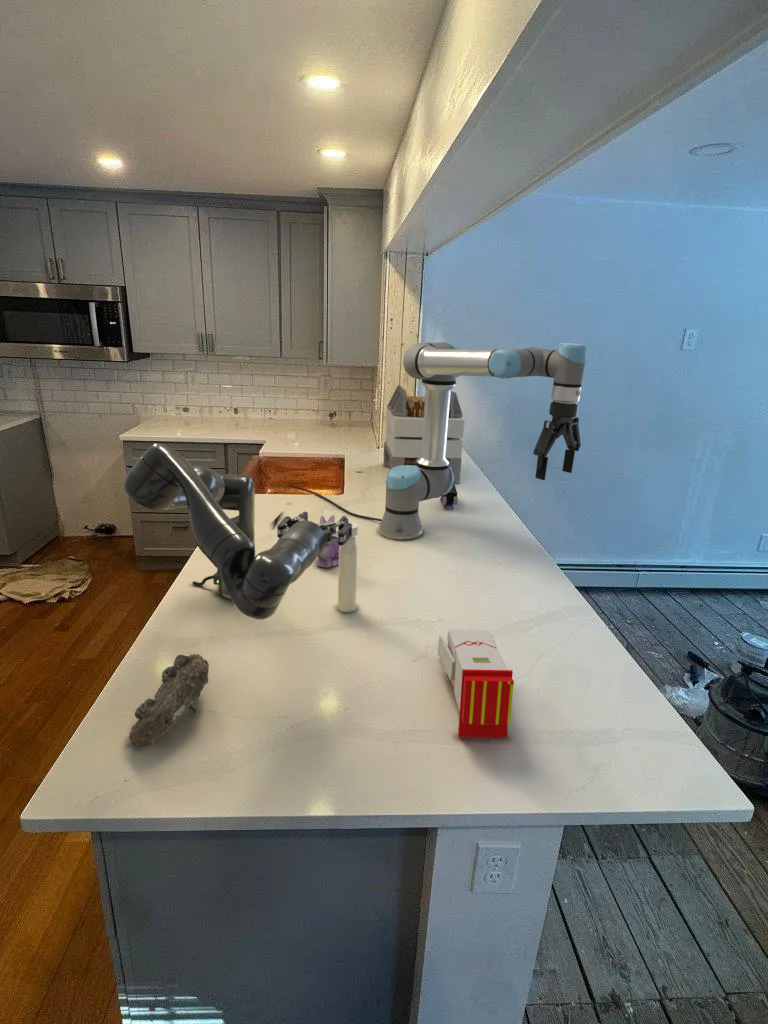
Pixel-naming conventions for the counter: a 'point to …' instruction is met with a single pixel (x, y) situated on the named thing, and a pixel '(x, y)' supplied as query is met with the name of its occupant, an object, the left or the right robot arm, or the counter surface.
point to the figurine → (329, 550)
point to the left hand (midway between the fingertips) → (325, 518)
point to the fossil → (170, 698)
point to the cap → (354, 529)
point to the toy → (478, 682)
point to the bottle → (347, 576)
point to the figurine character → (450, 498)
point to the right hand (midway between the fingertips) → (553, 475)
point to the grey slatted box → (419, 431)
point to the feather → (276, 520)
